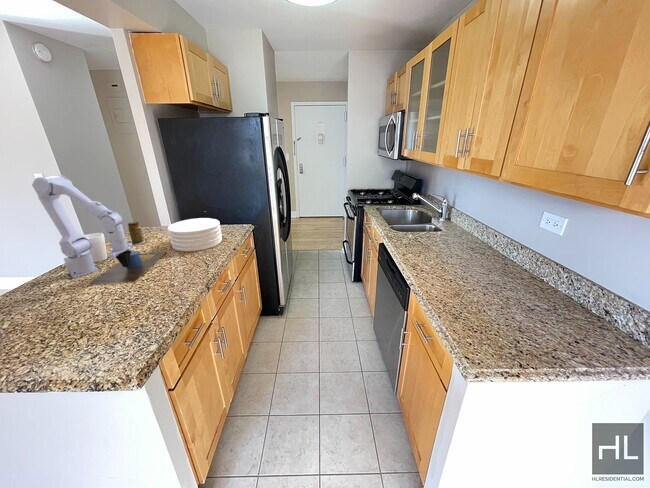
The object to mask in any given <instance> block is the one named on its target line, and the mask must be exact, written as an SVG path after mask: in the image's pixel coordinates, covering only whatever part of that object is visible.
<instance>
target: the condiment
mask: <svg viewBox="0 0 650 488" xmlns="http://www.w3.org/2000/svg"><path fill="white" fill-rule="evenodd" d="M127 226H128V228H127V229H128V233H129V236H130V239H131V240H130V242H129V243H132V245H133V246H135V245H141V244H145V243H146V240H145V238H144V236H143V231H142V228H141V226H140V224H139V222H138V221H130V222H128V223H127Z"/></svg>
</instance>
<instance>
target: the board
mask: <svg viewBox="0 0 650 488" xmlns="http://www.w3.org/2000/svg"><path fill="white" fill-rule="evenodd" d="M139 254H140V256H142V255H149V257H150V255H152V256H153V255H154V254H156V255H154V256H153V257H152V258H151V259H150V258H149V259H150V260H149V261H148V259H147V260H146V261H144V260H141V261H142V265H141V266H139V267H136V268H126V267H123V266H122V264H121V263H120V262H118V263H117V264H115V265H114V266H112V267H111V268H110V269H108V270H107V271H106V272H104V273H103V274H101V275H100V276H99V277H97V278H96V279H95V280H93V281H92V282H90V283H89V285H103V284H118V283H119V284H121V283H133V282H134V283H135V282H136V281H137V280H138V279H140V278H141V276H143V275H144V274H145V273H146V272H147V271H148V270H149V269H150V268H152V266H154V265H155V264H156V263H157V262H158V261H159V260H160V259H162V258H163V257H164V256H165V255H166V254H167V252H153V253H139ZM143 261H144V262H143Z"/></svg>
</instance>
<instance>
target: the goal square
mask: <svg viewBox="0 0 650 488" xmlns="http://www.w3.org/2000/svg"><path fill="white" fill-rule="evenodd" d="M154 255H156V254H154ZM154 255H153V256H154ZM153 256H152V255H150V257H149V255H142V256H140V257H141V260H144V261H146V260H147V259H148V261H149V260H150V259H151V258H152V257H153ZM149 258H150V259H149ZM144 261H143V262H144Z"/></svg>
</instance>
